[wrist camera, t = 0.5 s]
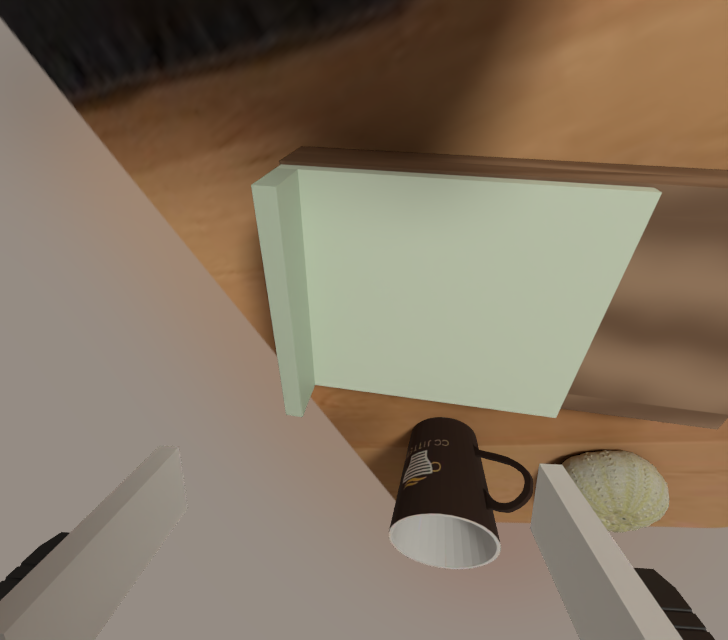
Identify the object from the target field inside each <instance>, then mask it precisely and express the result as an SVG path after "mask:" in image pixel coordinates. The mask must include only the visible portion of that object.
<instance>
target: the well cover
mask: <svg viewBox="0 0 728 640" xmlns="http://www.w3.org/2000/svg"><path fill="white" fill-rule="evenodd" d="M251 188H252V194H253V201H254V207H255V214H256V220H257V227H258V234H259V240H260V247H261V253H262V260H263V266H264V273H265V280H266V286H267V293H268V299H269V306H270V312H271V319H272V325H273V332H274V339H275V345H276V352H277V358H278V365H279V371H280V378H281V384H282V391H283V398H284V404H285V411H286V414H287V415H292V416H299V417H303V415H304V412H305V409H306V407H307V404H308V402H309V399H310V396H311V394H312V391H313V389H314V386H315V385H321V386H328V387H335V388H342V389H350V390H357V391H364V392H371V393H379V394H386V395H393V396H400V397H408V398H415V399H422V400H429V401H437V402H444V403H451V404H458V405H466V406H473V407H480V408H487V409H495V410H502V411H509V412H516V413H524V414H531V415H538V416H545V417H553V418H556V417H557V415H558V412H559V410H560V408H561V406H562V404H563V402H564V400H565V398H566V395H567V393H568V391H569V389H570V387H571V385H572V383H573V381H574V379H575V376H576V374H577V372H578V370H579V368H580V366H581V364H582V362H583V359H584V357H585V355H586V353H587V351H588V349H589V347H590V345H591V342H592V340H593V338H594V336H595V334H596V332H597V330H598V328H599V325H600V323H601V321H602V319H603V317H604V315H605V313H606V311H607V308H608V306H609V304H610V302H611V300H612V298H613V296H614V294H615V291H616V289H617V287H618V285H619V283H620V281H621V279H622V277H623V275H624V272H625V270H626V268H627V266H628V264H629V262H630V260H631V258H632V255H633V253H634V251H635V249H636V247H637V245H638V243H639V241H640V238H641V236H642V234H643V232H644V230H645V228H646V226H647V224H648V221H649V219H650V217H651V215H652V213H653V211H654V209H655V207H656V204H657V202H658V200H659V198H660V196H661V194H662V192H660V191H659V190H657V189H656V188H652V187H636V186H620V185H604V184H588V183H572V182H556V181H540V180H523V179H507V178H491V177H475V176H459V175H443V174H427V173H411V172H395V171H379V170H363V169H347V168H331V167H315V166H299V165H283V164H281V165H279V166H278V167H277V168H275V169H274V170H272V171H271V172H269V173H268V174H266V175H265V176H264V177H262V178H261V179H259V180H258V181H256V182H255V183H253V184H252V185H251Z"/></svg>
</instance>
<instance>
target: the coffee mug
mask: <svg viewBox="0 0 728 640" xmlns="http://www.w3.org/2000/svg"><path fill="white" fill-rule="evenodd" d="M481 458H486V459H489V460H493V461H497V462H501V463H504V464H507V465H510V466H512V467H514V468H516V469H517V470H518V471H520V472H521V473H522V474H523V476H524V480H525V484H524V489H523V491H522V493H521V494H520V495H519V496H518V497H517V498H516V499H515V500H514V501H512V502H509V503H499V502H496V501H495V500H493V499H492V497H491V496H490V494H489V492H488V488H487V483H486V479H485V475H484V470H483V466H482V462H481ZM532 493H533V479H532V477H531V475H530V473H529V472H528V471H527V470H526V469H525V468H524V467H523V466H522V465H521V464H519V463H518V462H516V461H514V460H512V459H510V458H508V457H506V456H502V455H498V454H495V453H490V452H485V451H482V450H479V448H478V444H477V440H476V436H475V434H474V432H473V430H472V429H471V428H470V427H469V426H467V425H466V424H464V423H463V422H461V421H458V420H455V419H451V418H444V417H438V418H430V419H427V420H424V421H422V422H420V423H418V424H417V425H416V426H415V427H414V429H413V430H412V433H411V437H410V442H409V446H408V451H407V455H406V459H405V464H404V468H403V473H402V477H401V481H400V486H399V490H398V495H397V499H396V504H395V508H394V512H393V517H392V521H391V525H390V530H389V539H390V541H391V543H392V545H393V546H394V547H395V549H397V550H398V551H399V552H400V553H402V554H403V555H405V556H406V557H408V558H410V559H412V560H415V561H417V562H419V563H422V564H425V565H429V566H433V567H439V568H445V569H470V568H476V567H480V566H484V565H486V564H488V563H490V562H492V561H493V560H495V559H496V558H497V557H498V555H499V554H500V551H501V545H500V540H499V536H498V532H497V527H496V523H495V518H494V514H493V510H495V511H498V512H506V513H510V512H513V511H515V510H517V509H519V508H521V507H522V506H524V505H525V504H526V503H527V502H528V500H529V499H530V498H531V496H532Z"/></svg>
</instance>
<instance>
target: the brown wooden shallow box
mask: <svg viewBox="0 0 728 640" xmlns="http://www.w3.org/2000/svg"><path fill="white" fill-rule="evenodd" d="M279 163H280V165H281V164H283V165H299V166H315V167H331V168H347V169H363V170H379V171H395V172H411V173H427V174H443V175H459V176H475V177H491V178H507V179H523V180H540V181H556V182H572V183H588V184H604V185H620V186H636V187H652V188H656V189H657V190H659V191H660V192H662V194H661V196H660V198H659V200H658V202H657V204H656V207H655V209H654V211H653V213H652V215H651V217H650V219H649V221H648V224H647V226H646V228H645V230H644V232H643V234H642V236H641V238H640V241H639V243H638V245H637V247H636V249H635V251H634V253H633V255H632V258H631V260H630V262H629V264H628V266H627V268H626V270H625V272H624V275H623V277H622V279H621V281H620V283H619V285H618V287H617V289H616V291H615V294H614V296H613V298H612V300H611V302H610V304H609V306H608V308H607V311H606V313H605V315H604V317H603V319H602V321H601V323H600V325H599V328H598V330H597V332H596V334H595V336H594V338H593V340H592V342H591V345H590V347H589V349H588V351H587V353H586V355H585V357H584V359H583V362H582V364H581V366H580V368H579V370H578V372H577V374H576V376H575V379H574V381H573V383H572V385H571V387H570V389H569V391H568V393H567V395H566V398H565V400H564V402H563V404H562V406H561V408H562V409H569V410H577V411H584V412H591V413H599V414H606V415H614V416H621V417H629V418H636V419H643V420H651V421H658V422H666V423H673V424H680V425H688V426H695V427H703V428H710V429H718V428H719V427H720V426H721V425H722V424H723V423H724V422H725V420H726V419H727V418H728V170H715V169H697V168H680V167H662V166H644V165H626V164H608V163H590V162H572V161H554V160H536V159H518V158H500V157H482V156H464V155H446V154H428V153H410V152H392V151H374V150H357V149H339V148H321V147H303V146H301V147H300V148H298V149H297V150H295V151H294V152H292V153H291V154H289V155H287V156H286V157H284V158H283V159H281V160H280V161H279Z"/></svg>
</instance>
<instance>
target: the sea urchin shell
mask: <svg viewBox="0 0 728 640" xmlns="http://www.w3.org/2000/svg"><path fill="white" fill-rule="evenodd" d="M562 466H563V467H564V468H565V470H566V471H567V473H568V474H569V476H570V477H571V479H572V480H573V481H574V483H575V484H576V486H577V487H578V489H579V490H580V492H581V493H582V494H583V496H584V497H585V499H586V500H587V502H588V503H589V505H590V506H591V507H592V509H593V510H594V512H595V513H596V515H597V516H598V518H599V519H600V520H601V522H602V523H603V525H604V526H605V528H606V529H607V531H613V532H626V531H630V530H632V531H634V530H637V529H640V528H643V527H646V526H650V524H652V523H654V522H656V521H658V520H660V519H661V517H662V516H663V515H664V514H665V512H666V510H667V509H668V507H669V493H668V488H667V483H666V482H665V481H664V478H663V477H662V476H661V475H660V474H659V473H658V471H657V470H656V467H654V466H653V464H650V463H649V461H647V460H645V459H643V458H641V457H640V456H638V455H636V454H634V453H633V452H627V451H623V450H619V451H610V450H609V451H606V450H603V451H600V452H586V453H583V454H581V455H577V456H573V457H570V458H569V459H567V460H565V461H564V462H563V464H562Z"/></svg>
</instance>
